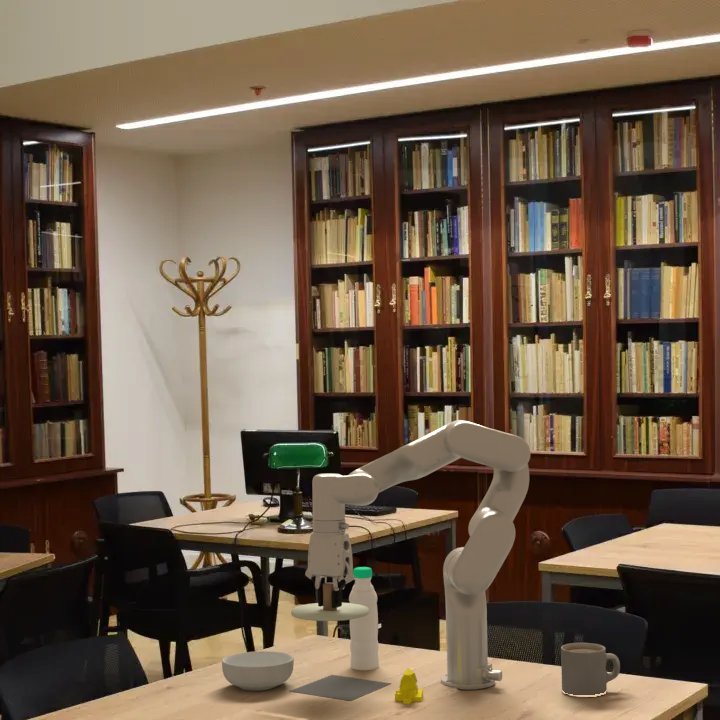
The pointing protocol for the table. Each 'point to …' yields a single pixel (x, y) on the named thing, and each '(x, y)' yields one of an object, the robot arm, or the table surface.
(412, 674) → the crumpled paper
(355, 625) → the water bottle
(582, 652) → the coffee mug
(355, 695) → the mat
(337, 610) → the lid
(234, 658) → the cereal bowl
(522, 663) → the table surface
